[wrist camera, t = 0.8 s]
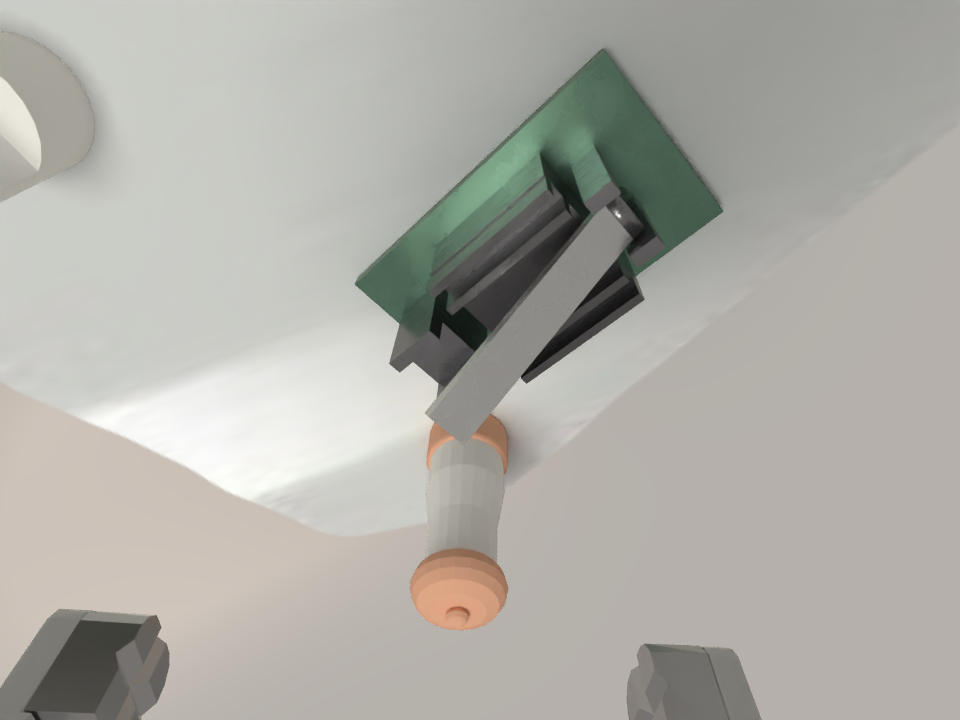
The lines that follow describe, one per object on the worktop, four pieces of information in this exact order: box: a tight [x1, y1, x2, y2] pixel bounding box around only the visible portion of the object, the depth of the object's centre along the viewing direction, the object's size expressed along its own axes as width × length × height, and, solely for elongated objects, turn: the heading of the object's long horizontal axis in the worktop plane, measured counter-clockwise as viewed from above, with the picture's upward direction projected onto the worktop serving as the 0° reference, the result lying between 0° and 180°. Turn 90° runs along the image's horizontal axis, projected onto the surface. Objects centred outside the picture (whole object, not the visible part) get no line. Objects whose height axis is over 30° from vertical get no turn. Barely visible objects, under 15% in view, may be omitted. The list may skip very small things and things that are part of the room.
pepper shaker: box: [410, 414, 508, 630], centre depth 50 cm, size 7×7×19 cm
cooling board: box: [355, 49, 723, 397], centre depth 43 cm, size 24×14×9 cm, turn 133°
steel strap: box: [425, 195, 644, 445], centre depth 38 cm, size 18×3×1 cm
